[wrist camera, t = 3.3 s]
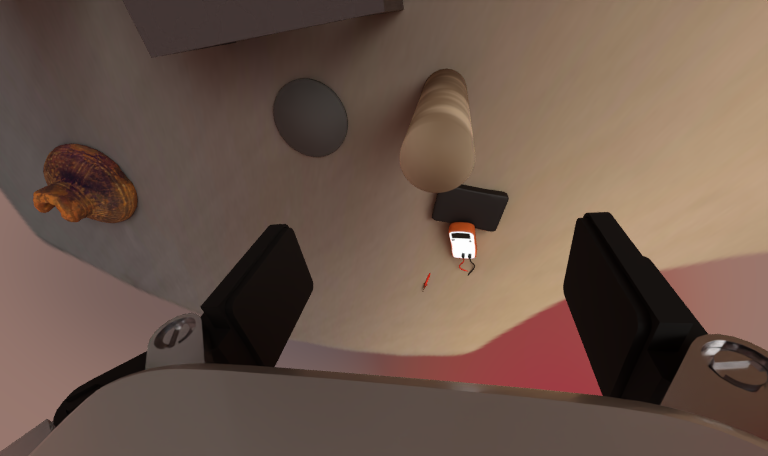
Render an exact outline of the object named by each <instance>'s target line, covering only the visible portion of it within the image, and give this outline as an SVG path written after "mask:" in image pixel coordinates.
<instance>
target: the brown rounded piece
mask: <svg viewBox="0 0 768 456" xmlns="http://www.w3.org/2000/svg"><path fill="white" fill-rule="evenodd" d="M66 154H67V155H66ZM92 158H93V159H92ZM106 161H107V162H106ZM103 165H104V166H103ZM43 172H44V177H45V180H46V182H47V184H48V186H46V187H44V188H42V189H39V190H37V191H36V192H34V195H33V196H34V198H33V201H34V206H35V207H36V209H37V210H38V211H39V212H42V213H46V212H49V211H50V210H51V209H52V208H53V207H55V206H56V207H57V209H58V210H59V211H60V212H61V216H62V217H63V218H64V219H65V220H67V221H70V222H79V221H80V220H81V219H83V218H86V217H87V218H90V219H94V220H97V221H101V222H107V223H117V222H121V221H124V220H126V219H128V218H130V217H131V216H132V214H133V213H134V211H135V209H136V207H137V193H136V190H135V188H134V186H133V184H132V182H131V181H130V180H129V179H128V178H127V177H126V175H125V174H124V173H123V172H122V171H121V170H120V168H119V166H118V165H117V164H116V163H115V162H114V161H113V160H112V159H110V158H109V157H108V156H106V155H104V154H103V153H101V152H100V151H98V150H96V149H93V148H91V147H88V146H85V145H80V144H64V145H60V146H58V147H56V148H55V149H54V150H53V151H51V152H50V153H49V155H48V157H47V159H46V162H45V163H44V170H43ZM99 174H100V175H99ZM122 175H123V176H122ZM122 185H123V186H122ZM113 192H114V193H113ZM89 197H90V198H89ZM127 197H128V198H127ZM133 203H134V204H133ZM128 204H129V205H128ZM100 206H101V207H100ZM134 206H135V207H134ZM124 207H125V208H124Z"/></svg>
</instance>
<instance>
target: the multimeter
mask: <svg viewBox="0 0 768 456" xmlns="http://www.w3.org/2000/svg"><path fill="white" fill-rule="evenodd" d="M508 199H509V198H508V195H507V193H505V192H502V191H495V190H488V189H482V188H477V187H472V186H467V185H462V184H461V185H460V186H458V187H457V188H455V189H453V190H450V191H447V192H442V193H438V194H437V198H436V202H435V205H434V209H433V214H432V218H433V219H434V220H436V221H442V222H448V223H452V224H450V226H449V231H448V233H449V236H450V241H451V249H452V256H453V257H455V258H461V259H463V262H464V259H470V262H471V259H474V258H475V257H476V254H477V244H476V234H475V228H478V229H482V230H486V231H495V230H496V229H497V226H498V224H499V221H500V219H501V217H502V214H503V212H504V209H505V207H506V204H507V202H508ZM463 262H462V263H463ZM462 263H461V264H462ZM471 263H472V262H471ZM461 264H460V265H461ZM472 264H473V265H474V263H472ZM460 265H459V268H460ZM474 268H475V265H474ZM474 268H473V269H472V270H471V272H472V271H473V270H474ZM460 269H461V270H463V269H462V268H460ZM463 271H467V270H463ZM471 272H470V273H471ZM470 273H469V274H470ZM469 274H468V275H469ZM429 277H430V273H429V275H428V277H427V279H426V282H425V283H424V288H425V287H426V286H427V282H428V279H429ZM423 290H424V289H423Z"/></svg>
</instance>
